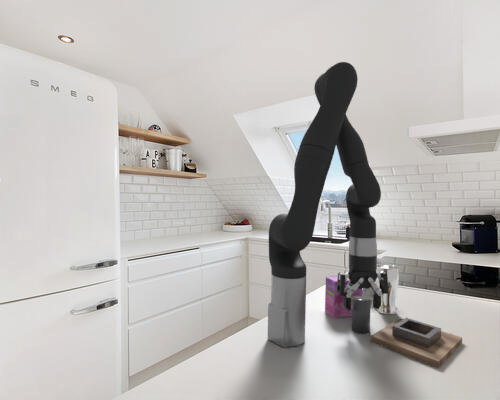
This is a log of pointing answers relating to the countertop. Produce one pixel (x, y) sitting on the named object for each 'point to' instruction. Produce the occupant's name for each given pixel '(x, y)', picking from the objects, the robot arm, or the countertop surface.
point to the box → (337, 298)
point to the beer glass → (388, 298)
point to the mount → (418, 341)
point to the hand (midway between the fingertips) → (362, 308)
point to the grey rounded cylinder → (361, 315)
